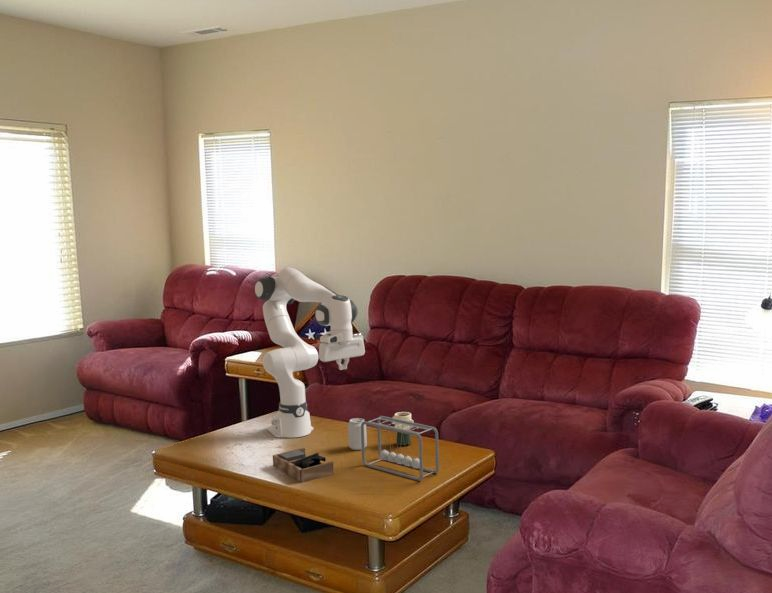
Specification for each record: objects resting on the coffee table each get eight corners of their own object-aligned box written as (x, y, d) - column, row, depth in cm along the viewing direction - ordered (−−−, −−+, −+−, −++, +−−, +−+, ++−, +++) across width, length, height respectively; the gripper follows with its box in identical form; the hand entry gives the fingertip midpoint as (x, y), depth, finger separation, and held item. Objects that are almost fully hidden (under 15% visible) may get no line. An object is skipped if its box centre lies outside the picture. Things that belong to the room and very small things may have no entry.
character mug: (419, 444, 312) (418, 413, 311) (409, 448, 307) (408, 418, 305) (398, 439, 319) (397, 410, 318) (388, 444, 314) (387, 414, 312)
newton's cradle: (439, 474, 277) (438, 427, 275) (421, 482, 270) (420, 434, 267) (379, 458, 297) (378, 414, 295) (361, 465, 290) (359, 420, 287)
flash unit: (280, 467, 290) (279, 454, 290) (300, 463, 295) (299, 449, 294) (287, 472, 285) (286, 458, 285) (307, 467, 290) (306, 453, 289)
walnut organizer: (273, 466, 292) (272, 455, 291) (304, 458, 300) (303, 447, 299) (301, 482, 273) (301, 470, 273) (333, 473, 281) (333, 462, 281)
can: (364, 451, 306) (363, 422, 305) (347, 450, 308) (345, 422, 306) (368, 445, 314) (367, 417, 312) (351, 444, 315) (350, 417, 314)
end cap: (314, 468, 288) (313, 451, 288) (327, 471, 284) (326, 454, 283) (294, 475, 281) (293, 458, 280) (307, 479, 276) (307, 462, 275)
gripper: (358, 331, 311) (359, 364, 313) (316, 338, 299) (317, 371, 301) (367, 333, 306) (368, 366, 308) (324, 340, 294) (325, 374, 296)
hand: (343, 369), depth 304 cm, fingers closed
